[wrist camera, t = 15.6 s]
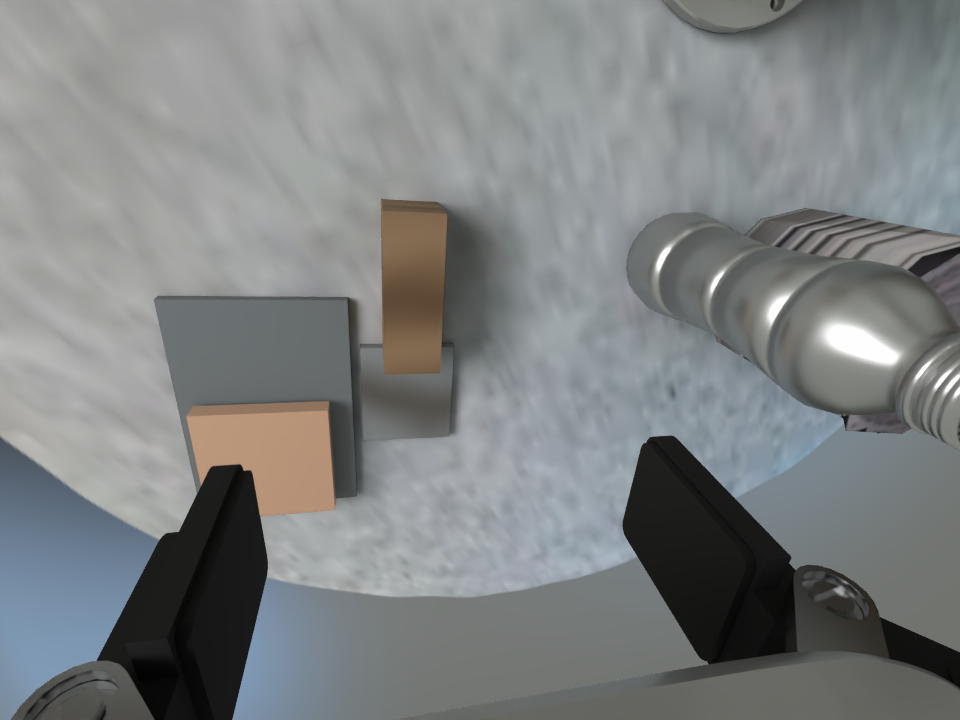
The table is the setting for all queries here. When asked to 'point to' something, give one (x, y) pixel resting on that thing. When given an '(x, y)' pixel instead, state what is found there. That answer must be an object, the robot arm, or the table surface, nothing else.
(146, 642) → the robot arm
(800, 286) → the silver bottle
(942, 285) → the ribbed tin
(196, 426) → the tile
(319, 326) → the mat
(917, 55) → the table surface
